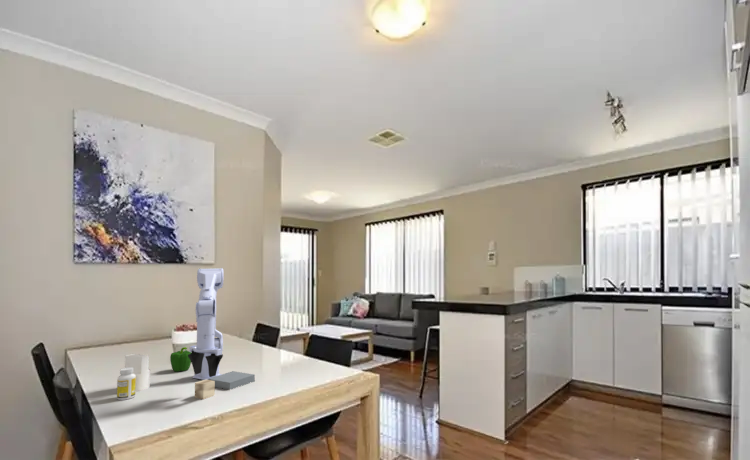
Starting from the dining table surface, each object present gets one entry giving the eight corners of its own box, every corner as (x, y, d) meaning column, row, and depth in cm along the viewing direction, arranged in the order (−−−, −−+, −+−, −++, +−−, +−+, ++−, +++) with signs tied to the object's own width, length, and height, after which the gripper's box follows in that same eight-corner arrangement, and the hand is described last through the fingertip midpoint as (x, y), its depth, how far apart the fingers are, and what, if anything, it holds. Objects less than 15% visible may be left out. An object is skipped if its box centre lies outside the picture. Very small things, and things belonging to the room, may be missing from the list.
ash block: (194, 397, 137) (194, 382, 137) (205, 394, 141) (206, 379, 141) (203, 399, 135) (203, 384, 135) (214, 395, 139) (214, 380, 139)
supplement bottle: (131, 394, 142) (132, 365, 143) (137, 397, 139) (138, 368, 139) (114, 398, 138) (115, 369, 139) (120, 401, 134) (121, 371, 135)
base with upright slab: (115, 390, 146) (116, 357, 147) (137, 383, 155) (138, 352, 156) (133, 393, 143) (134, 358, 144) (155, 385, 152) (156, 353, 153)
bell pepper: (166, 371, 173) (167, 347, 174) (186, 367, 180) (186, 344, 181) (175, 374, 168) (175, 349, 169) (194, 370, 174) (195, 346, 175)
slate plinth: (207, 385, 151) (207, 378, 151) (232, 377, 161) (233, 371, 161) (229, 389, 145) (229, 382, 145) (254, 381, 155) (254, 374, 155)
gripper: (182, 335, 140) (181, 375, 139) (210, 338, 133) (209, 380, 132) (199, 332, 146) (198, 370, 145) (227, 334, 139) (226, 375, 138)
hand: (205, 374), depth 139 cm, fingers open, 7 cm apart
